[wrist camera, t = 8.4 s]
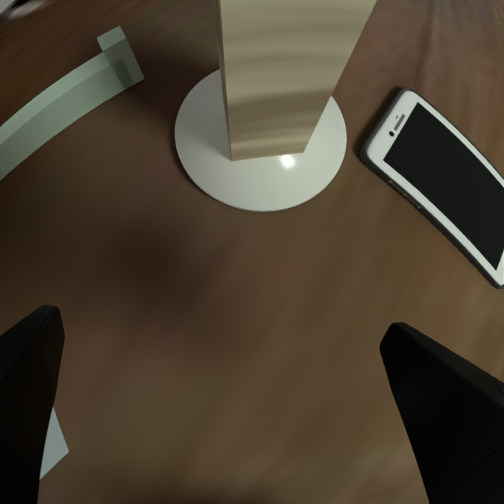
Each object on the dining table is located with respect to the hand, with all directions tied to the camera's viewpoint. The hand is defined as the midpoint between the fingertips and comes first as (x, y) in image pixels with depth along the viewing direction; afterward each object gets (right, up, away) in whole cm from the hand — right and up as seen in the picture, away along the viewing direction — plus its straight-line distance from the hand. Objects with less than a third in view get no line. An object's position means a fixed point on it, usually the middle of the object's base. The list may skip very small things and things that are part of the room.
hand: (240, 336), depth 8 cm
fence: (-13, +11, +10) cm, 20 cm away
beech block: (+1, +9, +9) cm, 13 cm away
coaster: (+1, +9, +10) cm, 14 cm away
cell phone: (+15, +6, +11) cm, 19 cm away
